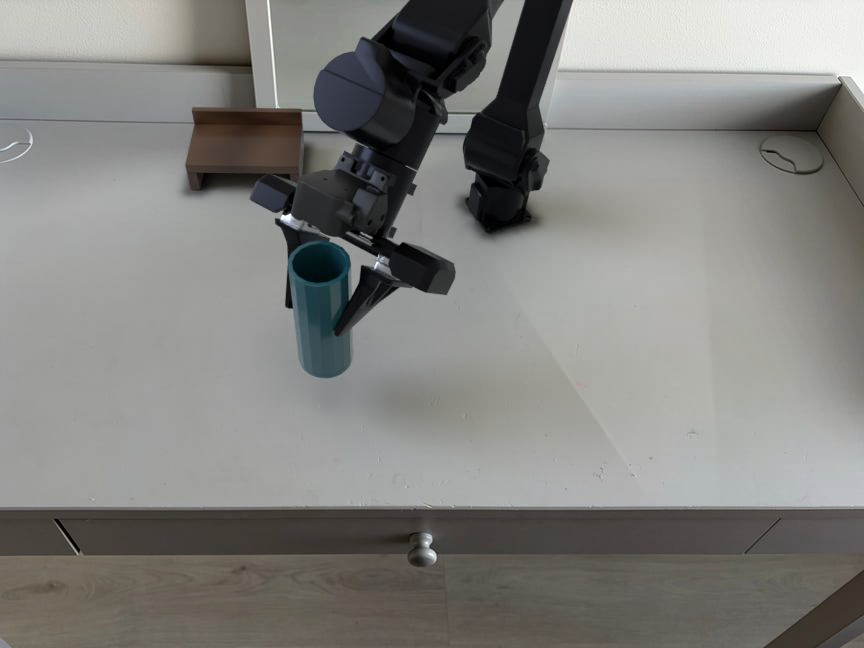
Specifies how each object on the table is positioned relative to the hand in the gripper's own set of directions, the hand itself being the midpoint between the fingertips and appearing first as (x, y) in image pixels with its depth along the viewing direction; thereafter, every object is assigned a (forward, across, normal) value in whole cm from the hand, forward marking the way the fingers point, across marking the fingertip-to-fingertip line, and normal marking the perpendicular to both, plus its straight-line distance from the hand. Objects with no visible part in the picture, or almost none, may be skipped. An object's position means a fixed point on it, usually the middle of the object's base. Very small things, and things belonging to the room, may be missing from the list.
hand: (312, 321), depth 69 cm
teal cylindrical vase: (+4, 0, +6) cm, 7 cm away
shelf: (-7, -30, +26) cm, 41 cm away
